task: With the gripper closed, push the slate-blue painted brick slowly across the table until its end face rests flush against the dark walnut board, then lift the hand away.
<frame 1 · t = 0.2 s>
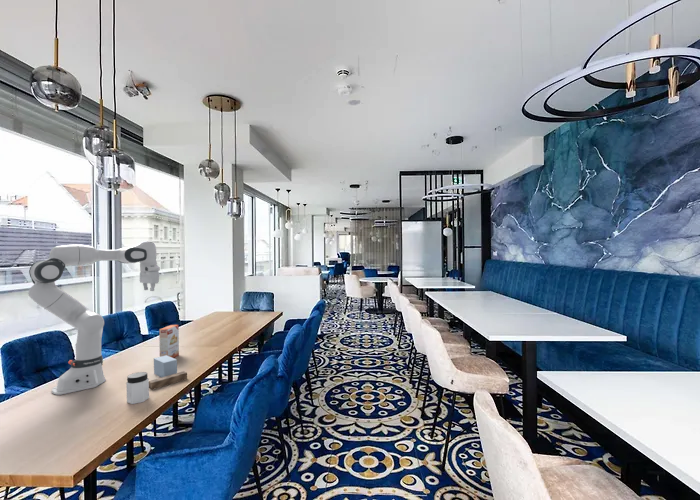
hand: (149, 290, 209), 47 cm above the table, tool pointing down, fingers open, 8 cm apart
brick: (165, 374, 197), on the table
board: (168, 383, 183), on the table
jar: (138, 400, 163), on the table
cracker box: (169, 358, 228), on the table
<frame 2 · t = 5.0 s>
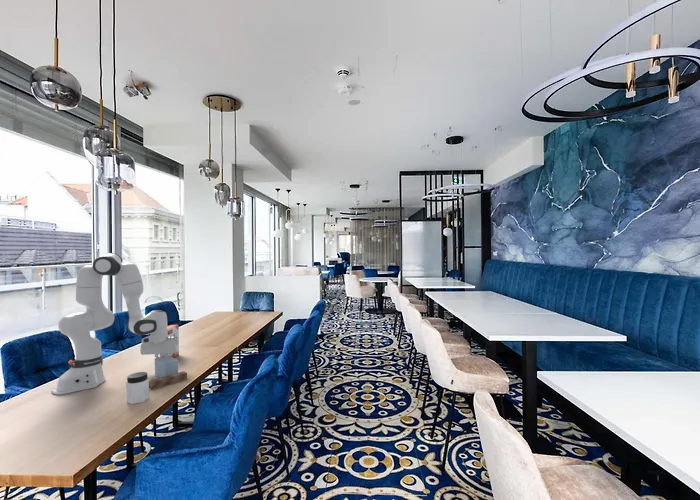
hand: (159, 361, 202), 6 cm above the table, tool pointing down, fingers closed
brick: (166, 374, 196), on the table, touching gripper
everything else where it was.
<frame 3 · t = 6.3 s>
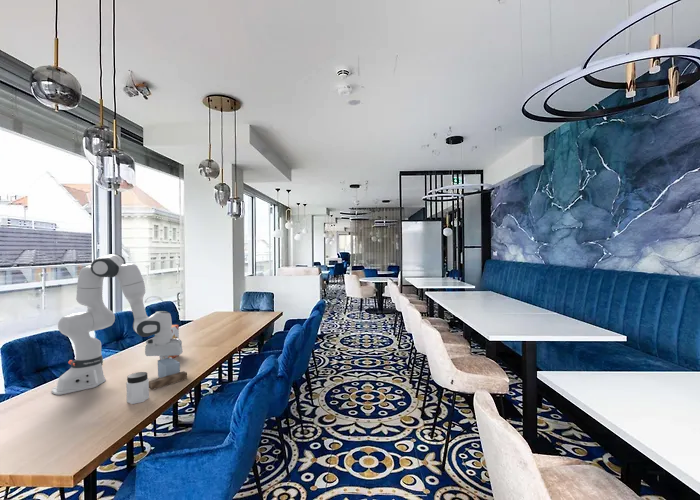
hand: (164, 363, 198), 6 cm above the table, tool pointing down, fingers closed
brick: (168, 377, 192), on the table, touching board, gripper
everything else where it was.
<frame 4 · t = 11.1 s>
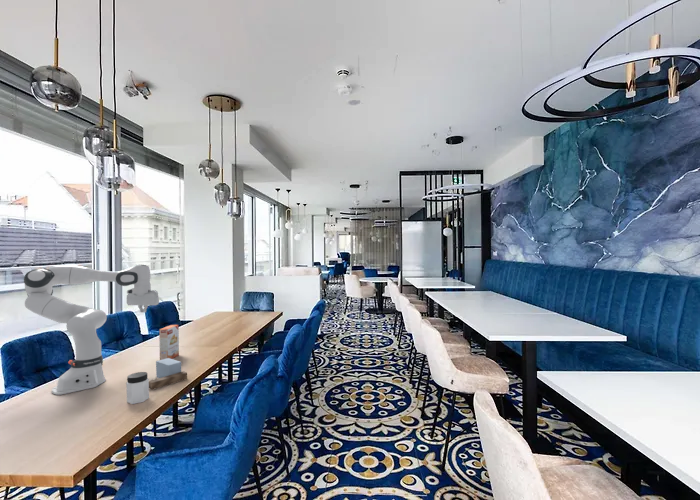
hand: (143, 312, 214), 33 cm above the table, tool pointing down, fingers closed
brick: (168, 377, 192), on the table
everything else where it was.
at the end: brick inside the target area on the table beside the board (1.1 cm from its centre), on the table; brick tilted 0° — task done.
